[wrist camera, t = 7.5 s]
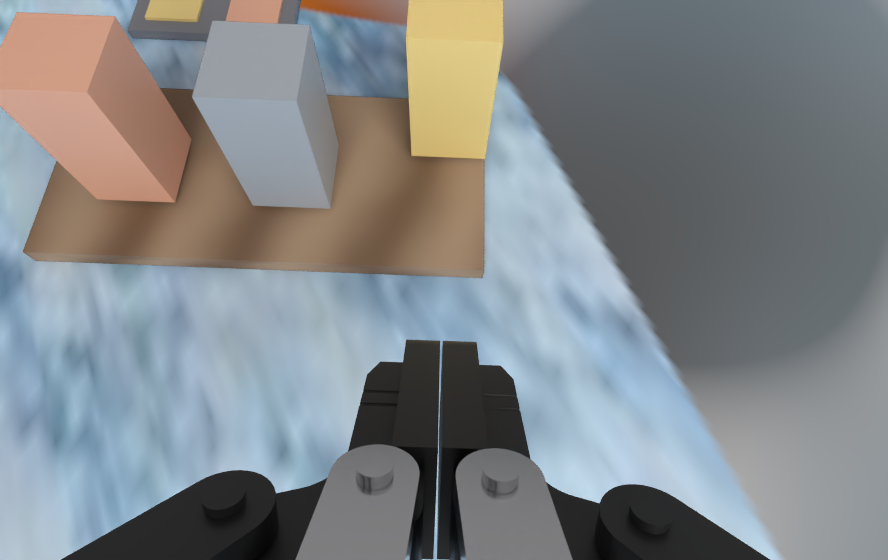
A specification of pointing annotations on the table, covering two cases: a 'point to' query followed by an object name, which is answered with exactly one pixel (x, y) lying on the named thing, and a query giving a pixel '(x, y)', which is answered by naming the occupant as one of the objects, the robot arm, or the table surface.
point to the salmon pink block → (93, 105)
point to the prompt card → (204, 16)
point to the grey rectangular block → (269, 111)
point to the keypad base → (286, 208)
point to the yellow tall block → (452, 75)
